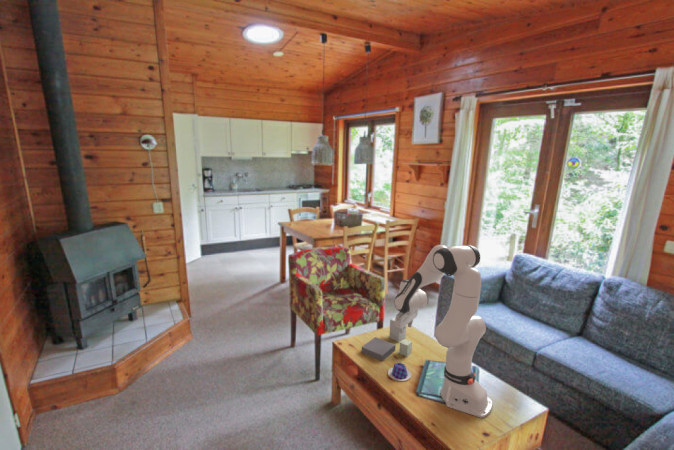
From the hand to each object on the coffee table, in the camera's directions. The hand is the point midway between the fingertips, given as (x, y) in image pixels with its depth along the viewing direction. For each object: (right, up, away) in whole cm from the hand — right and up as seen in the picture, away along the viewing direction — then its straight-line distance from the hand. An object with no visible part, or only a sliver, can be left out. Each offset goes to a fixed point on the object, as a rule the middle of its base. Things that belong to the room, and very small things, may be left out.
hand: (405, 329), depth 195 cm
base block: (-15, -14, +5) cm, 21 cm away
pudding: (-6, -19, -16) cm, 25 cm away
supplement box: (-1, -11, +19) cm, 22 cm away
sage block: (0, -14, +3) cm, 14 cm away
